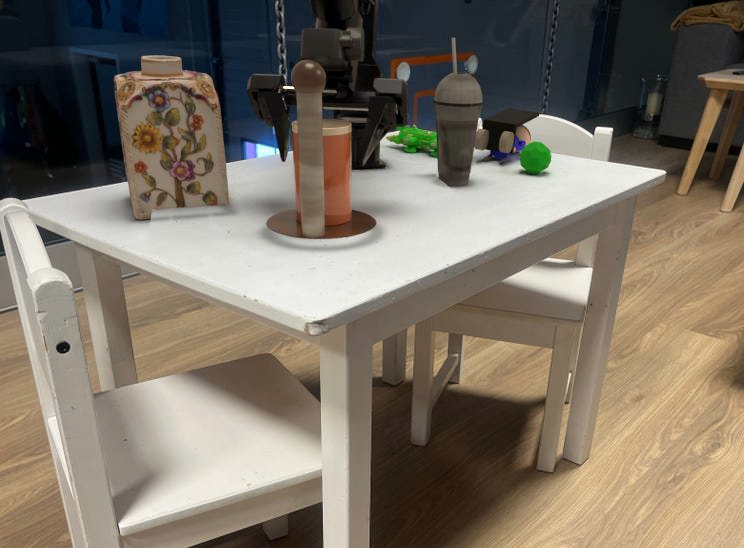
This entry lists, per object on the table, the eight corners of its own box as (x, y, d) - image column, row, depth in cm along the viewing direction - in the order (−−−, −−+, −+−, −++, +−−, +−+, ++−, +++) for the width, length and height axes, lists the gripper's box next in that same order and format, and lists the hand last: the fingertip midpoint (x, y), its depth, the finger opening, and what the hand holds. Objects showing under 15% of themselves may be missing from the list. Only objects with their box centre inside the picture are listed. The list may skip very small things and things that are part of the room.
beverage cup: (474, 190, 105) (485, 40, 96) (425, 186, 107) (431, 38, 97) (479, 178, 112) (490, 37, 102) (433, 175, 113) (439, 35, 104)
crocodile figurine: (464, 162, 122) (466, 136, 120) (377, 148, 131) (377, 123, 129) (483, 156, 127) (485, 130, 125) (397, 142, 135) (398, 118, 133)
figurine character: (507, 175, 120) (538, 150, 131) (510, 129, 116) (541, 107, 127) (470, 170, 123) (503, 145, 134) (472, 125, 119) (505, 103, 130)
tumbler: (291, 211, 89) (287, 118, 84) (346, 208, 91) (345, 117, 86) (299, 227, 83) (295, 129, 78) (357, 224, 85) (357, 127, 80)
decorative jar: (129, 196, 97) (107, 52, 89) (216, 191, 101) (204, 52, 93) (134, 221, 88) (110, 62, 79) (231, 214, 91) (218, 61, 83)
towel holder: (280, 213, 92) (272, 48, 83) (382, 218, 91) (384, 52, 82) (253, 246, 80) (239, 59, 72) (368, 252, 80) (369, 63, 71)
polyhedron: (515, 169, 118) (518, 139, 116) (544, 169, 119) (548, 139, 116) (522, 176, 114) (525, 145, 112) (552, 176, 114) (556, 145, 112)
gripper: (244, -4, 81) (223, 114, 76) (410, 1, 80) (399, 121, 75) (266, 66, 92) (249, 172, 87) (413, 71, 90) (403, 179, 86)
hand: (321, 161), depth 83 cm, fingers open, 9 cm apart
